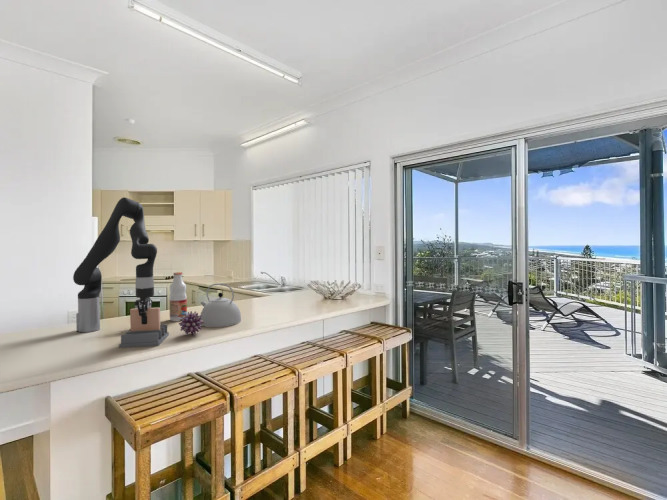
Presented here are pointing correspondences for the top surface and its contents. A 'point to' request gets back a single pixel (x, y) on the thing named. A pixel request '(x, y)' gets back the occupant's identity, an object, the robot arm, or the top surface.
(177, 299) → the fruit juice
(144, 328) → the tall peach block
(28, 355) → the top surface
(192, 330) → the flower
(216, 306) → the kettle
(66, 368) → the top surface
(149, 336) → the rack
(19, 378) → the top surface
